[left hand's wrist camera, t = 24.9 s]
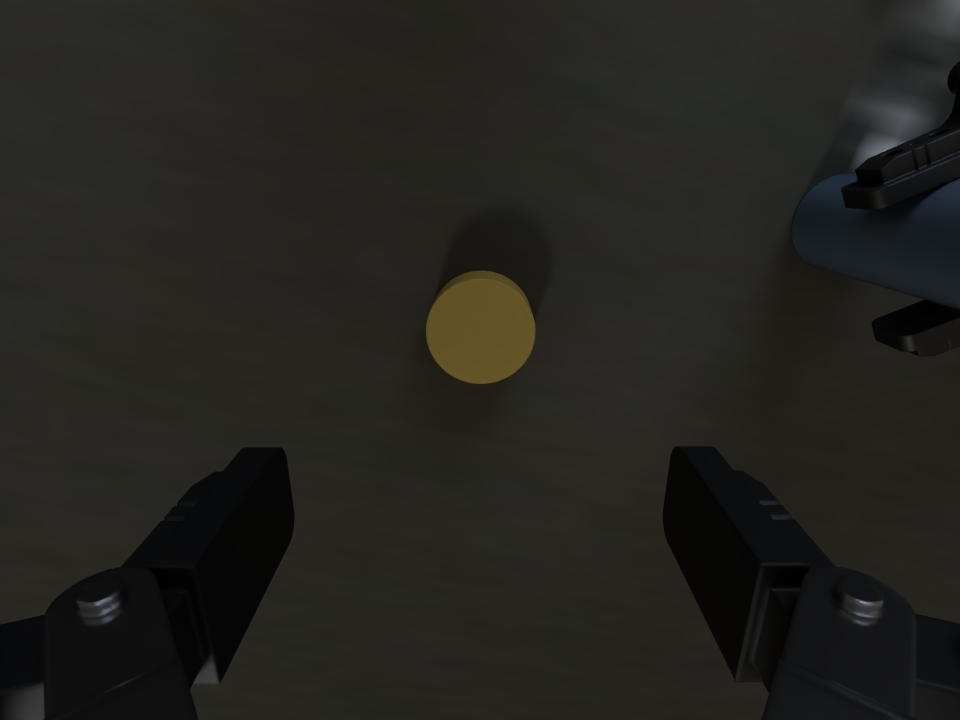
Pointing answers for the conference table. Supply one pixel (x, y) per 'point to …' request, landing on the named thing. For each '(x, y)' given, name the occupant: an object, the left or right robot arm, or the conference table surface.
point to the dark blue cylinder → (885, 239)
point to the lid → (480, 327)
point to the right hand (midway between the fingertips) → (873, 271)
